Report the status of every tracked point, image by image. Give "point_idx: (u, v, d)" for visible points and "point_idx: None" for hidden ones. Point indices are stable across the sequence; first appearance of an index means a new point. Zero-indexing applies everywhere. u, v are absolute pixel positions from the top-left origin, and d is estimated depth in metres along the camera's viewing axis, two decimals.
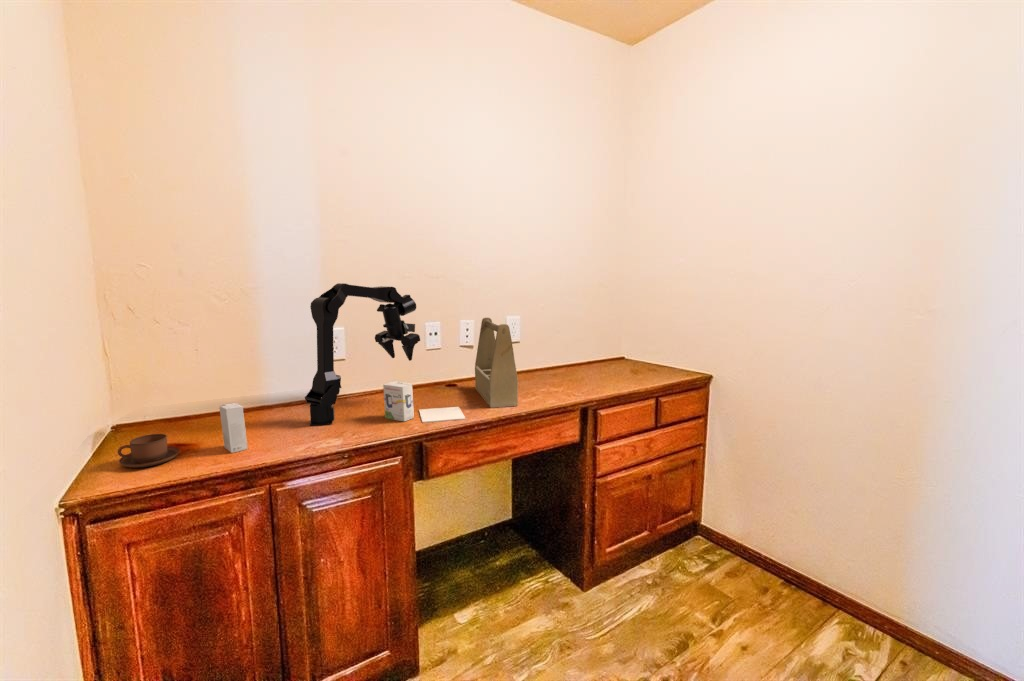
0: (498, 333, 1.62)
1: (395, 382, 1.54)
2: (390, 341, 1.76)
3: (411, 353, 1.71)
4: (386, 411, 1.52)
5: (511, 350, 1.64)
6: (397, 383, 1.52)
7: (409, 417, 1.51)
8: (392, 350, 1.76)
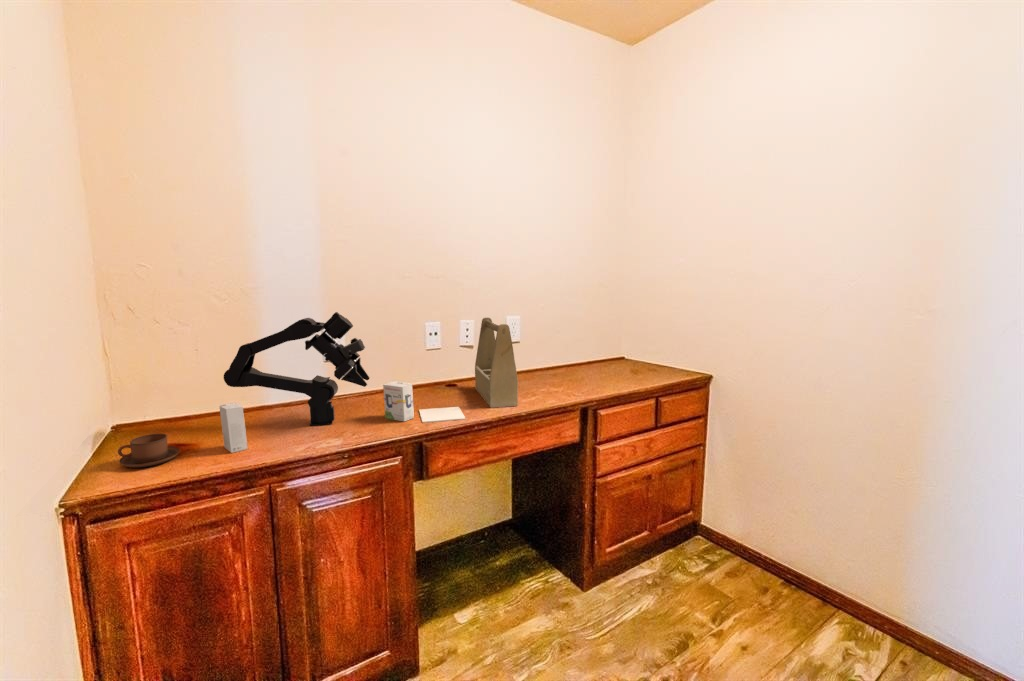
0: (498, 333, 1.62)
1: (395, 382, 1.54)
2: (355, 364, 1.53)
3: (359, 379, 1.44)
4: (386, 411, 1.52)
5: (511, 350, 1.64)
6: (397, 383, 1.52)
7: (409, 417, 1.51)
8: (362, 372, 1.53)
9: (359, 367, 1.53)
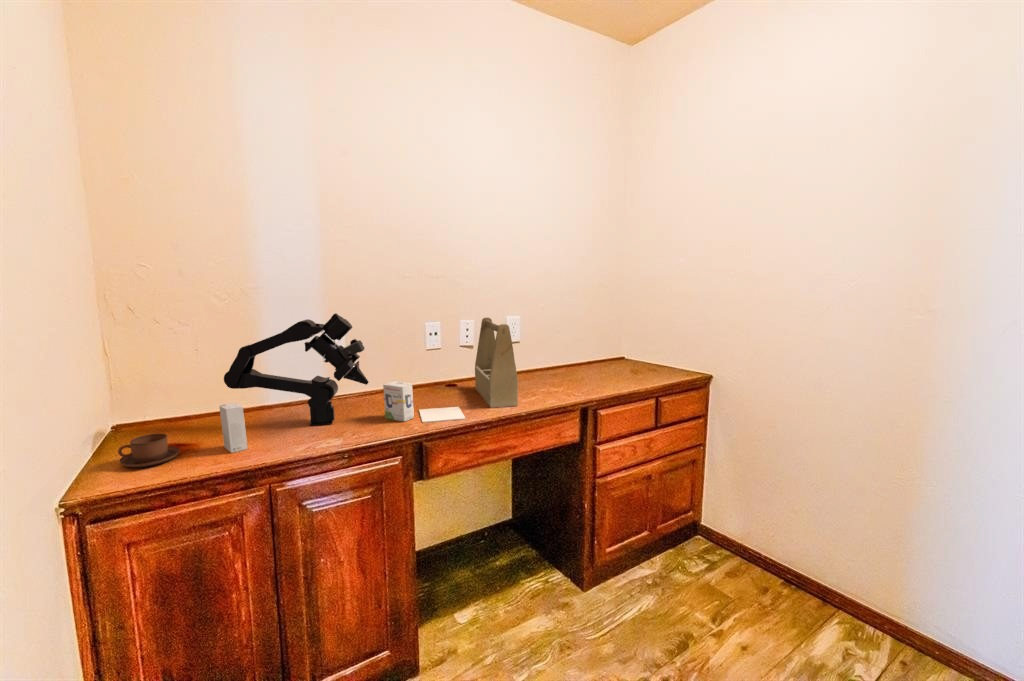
0: (498, 333, 1.62)
1: (395, 382, 1.54)
2: None
3: (361, 377, 1.48)
4: (386, 411, 1.52)
5: (511, 350, 1.64)
6: (397, 383, 1.52)
7: (409, 417, 1.51)
8: None
9: None
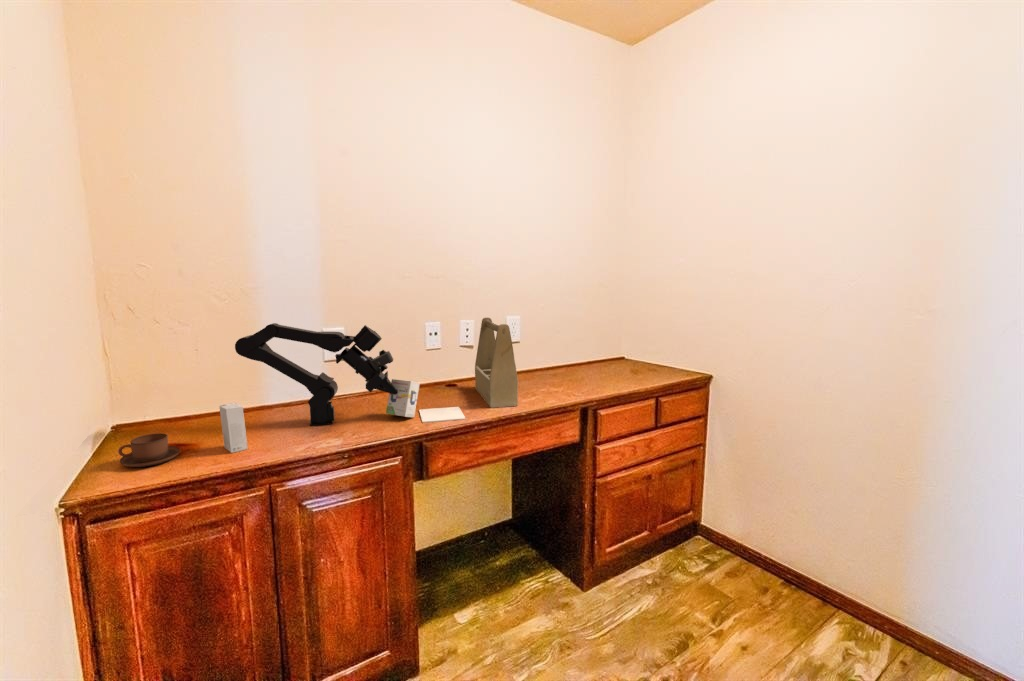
0: (498, 333, 1.62)
1: None
2: None
3: (390, 388, 1.50)
4: (388, 406, 1.53)
5: (511, 350, 1.64)
6: None
7: (410, 414, 1.51)
8: None
9: None
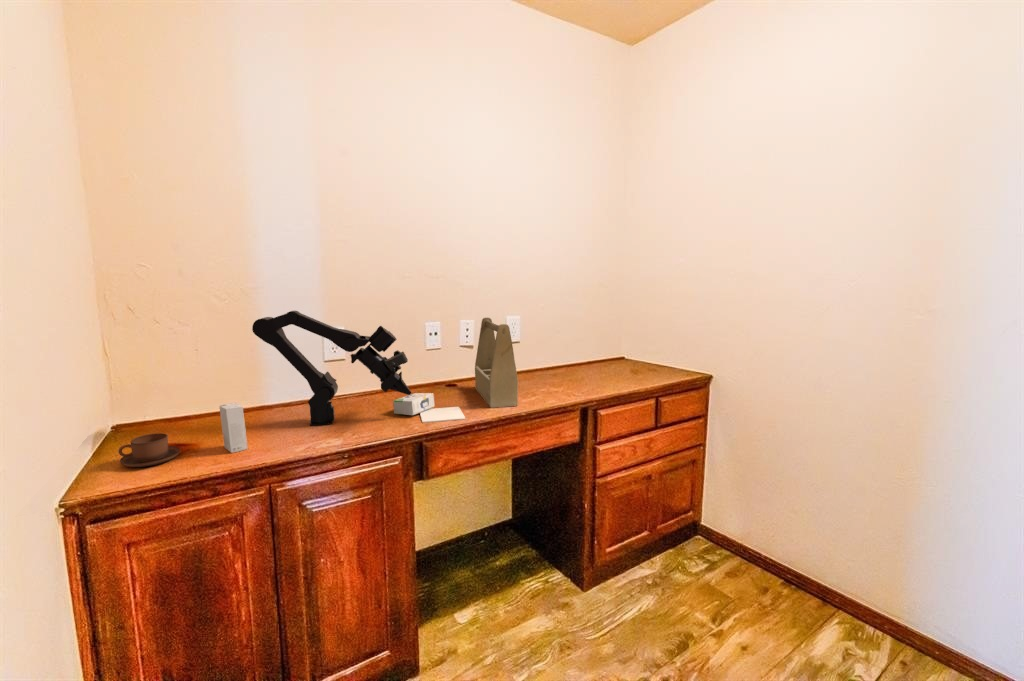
0: (498, 333, 1.62)
1: None
2: None
3: (404, 388, 1.51)
4: (399, 398, 1.59)
5: (511, 350, 1.64)
6: None
7: (414, 407, 1.54)
8: None
9: None
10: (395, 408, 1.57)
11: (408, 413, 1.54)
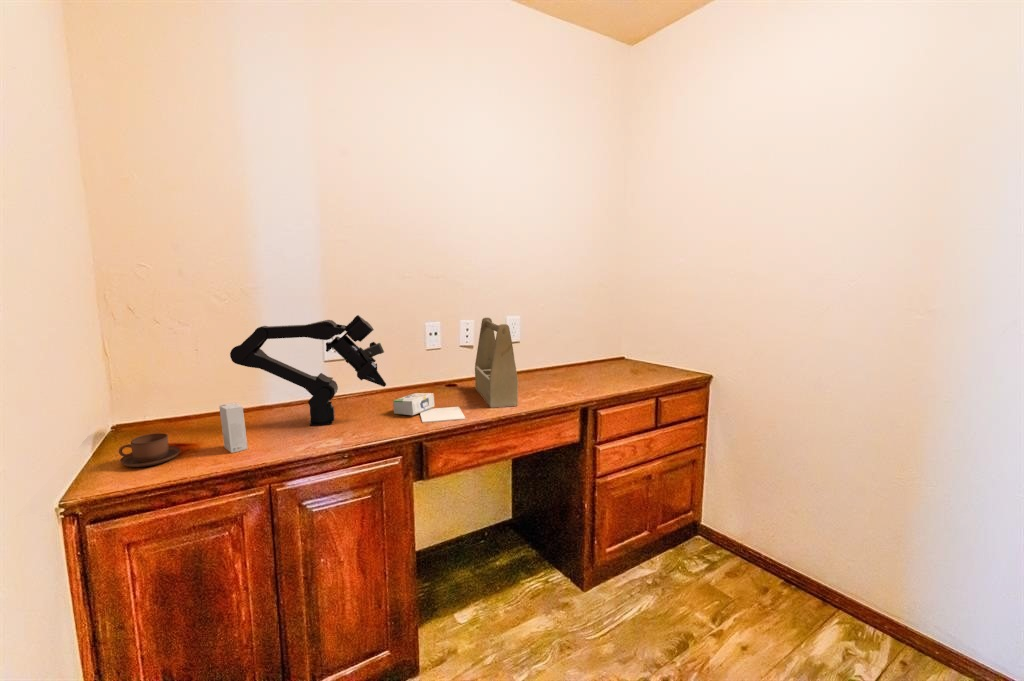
0: (498, 333, 1.62)
1: None
2: None
3: (379, 379, 1.49)
4: (399, 398, 1.59)
5: (511, 350, 1.64)
6: None
7: (414, 407, 1.54)
8: None
9: None
10: (395, 408, 1.57)
11: (408, 413, 1.54)
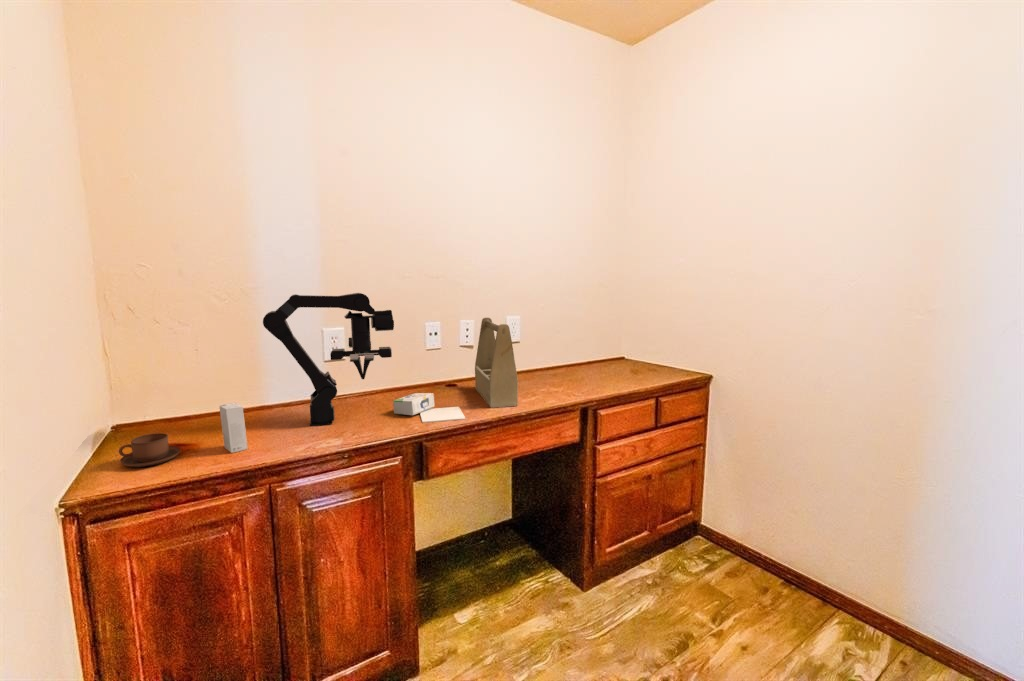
0: (498, 333, 1.62)
1: None
2: None
3: None
4: (399, 398, 1.59)
5: (511, 350, 1.64)
6: None
7: (414, 407, 1.54)
8: None
9: None
10: (395, 408, 1.57)
11: (408, 413, 1.54)
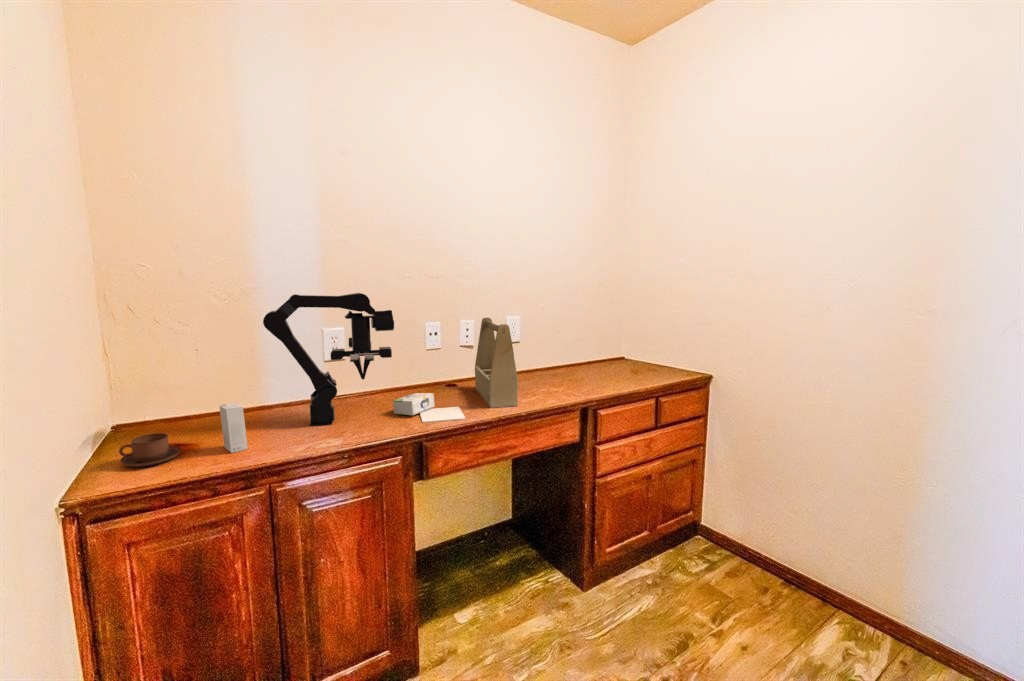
0: (498, 333, 1.62)
1: None
2: (360, 359, 1.52)
3: None
4: (399, 398, 1.59)
5: (511, 350, 1.64)
6: None
7: (414, 407, 1.54)
8: None
9: None
10: (395, 408, 1.57)
11: (408, 413, 1.54)
